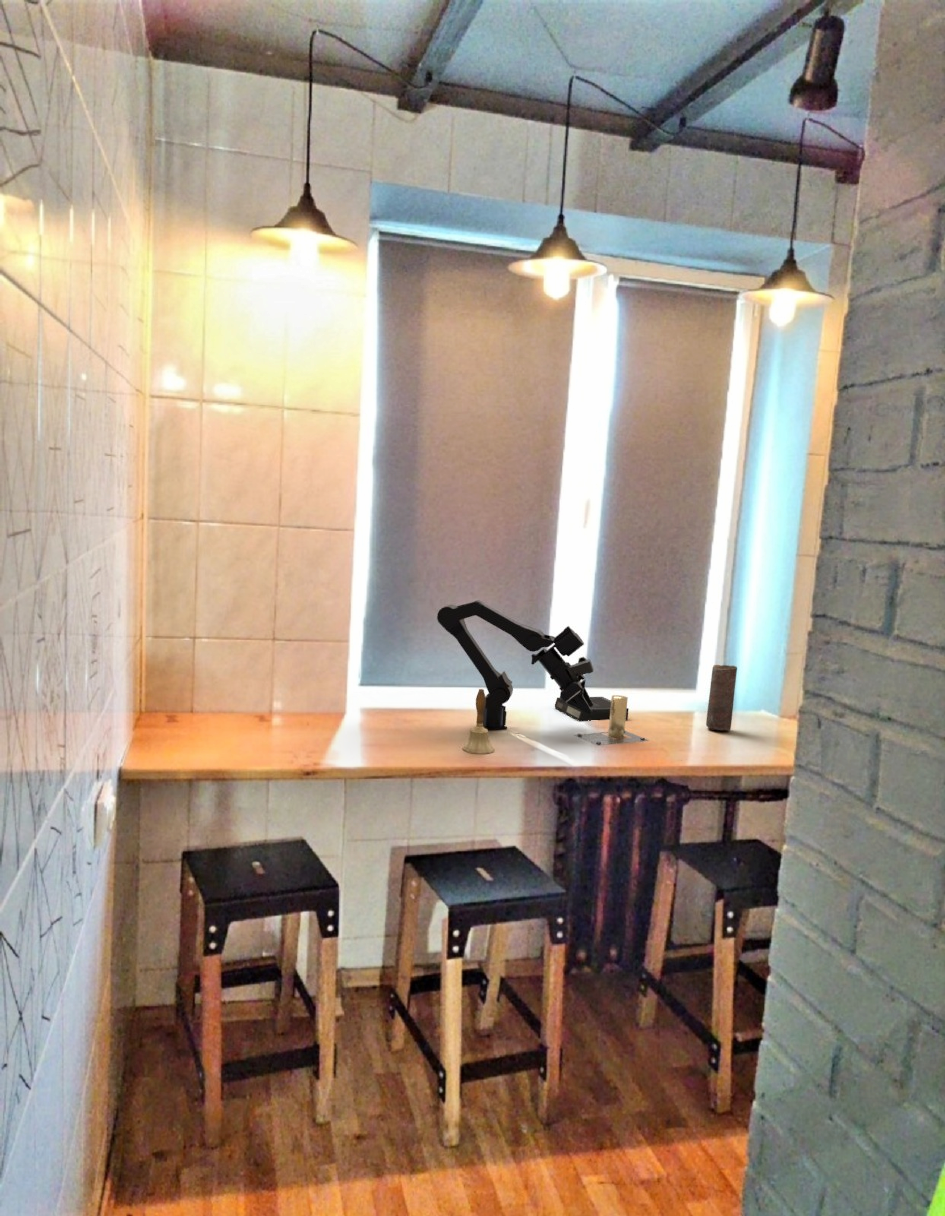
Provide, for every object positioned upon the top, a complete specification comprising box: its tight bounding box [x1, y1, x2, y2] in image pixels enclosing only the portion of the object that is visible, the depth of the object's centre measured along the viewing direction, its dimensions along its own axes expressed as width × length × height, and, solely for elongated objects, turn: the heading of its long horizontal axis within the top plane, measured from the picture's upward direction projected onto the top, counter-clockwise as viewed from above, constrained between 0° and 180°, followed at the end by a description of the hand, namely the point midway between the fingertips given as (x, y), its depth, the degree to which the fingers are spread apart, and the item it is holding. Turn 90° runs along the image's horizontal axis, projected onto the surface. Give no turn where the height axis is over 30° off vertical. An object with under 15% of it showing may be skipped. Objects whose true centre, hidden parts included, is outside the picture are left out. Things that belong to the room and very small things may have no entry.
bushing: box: [607, 694, 628, 739], centre depth 259 cm, size 4×4×12 cm
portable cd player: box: [554, 696, 629, 722], centre depth 290 cm, size 16×17×4 cm
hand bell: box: [462, 688, 495, 755], centre depth 240 cm, size 8×8×16 cm
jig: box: [573, 730, 650, 746], centre depth 257 cm, size 18×11×2 cm, turn 120°
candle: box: [705, 664, 738, 732], centre depth 279 cm, size 8×7×20 cm
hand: (591, 709), depth 260 cm, fingers open, 9 cm apart
